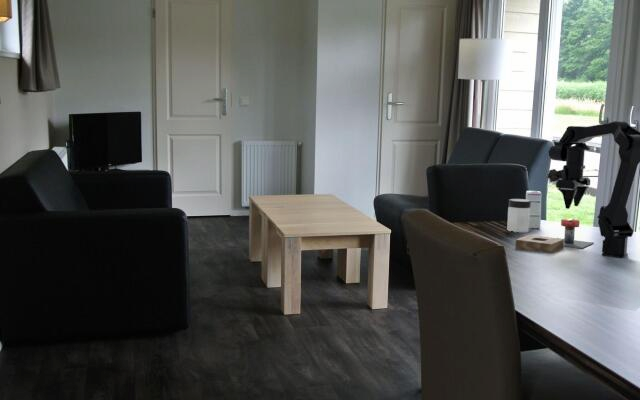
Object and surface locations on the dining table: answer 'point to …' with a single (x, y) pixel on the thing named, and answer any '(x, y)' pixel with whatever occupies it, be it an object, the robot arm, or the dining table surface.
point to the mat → (577, 244)
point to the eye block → (539, 243)
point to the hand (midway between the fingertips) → (571, 207)
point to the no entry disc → (569, 229)
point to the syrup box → (534, 208)
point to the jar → (518, 215)
